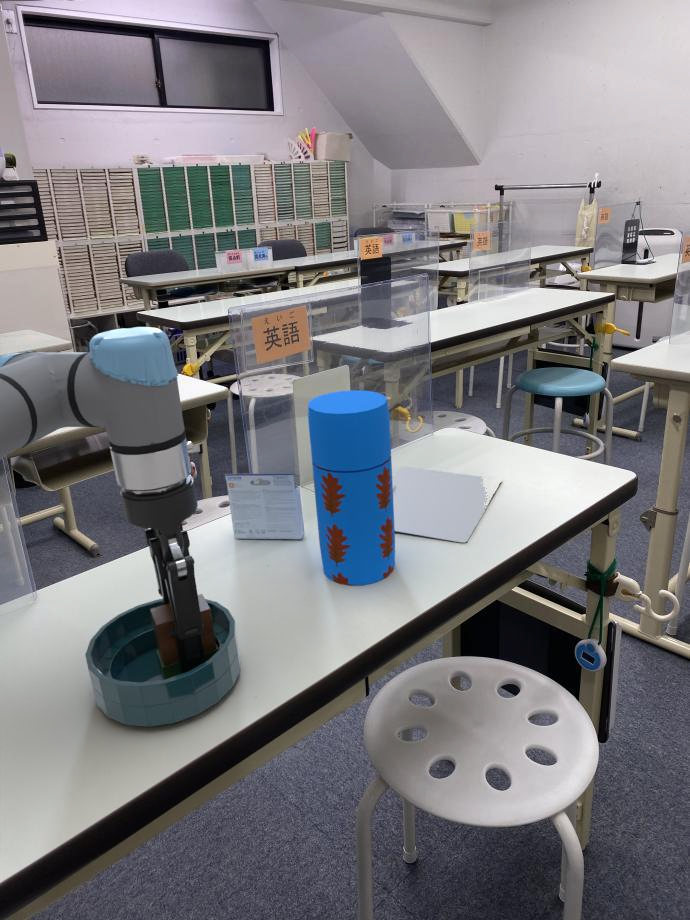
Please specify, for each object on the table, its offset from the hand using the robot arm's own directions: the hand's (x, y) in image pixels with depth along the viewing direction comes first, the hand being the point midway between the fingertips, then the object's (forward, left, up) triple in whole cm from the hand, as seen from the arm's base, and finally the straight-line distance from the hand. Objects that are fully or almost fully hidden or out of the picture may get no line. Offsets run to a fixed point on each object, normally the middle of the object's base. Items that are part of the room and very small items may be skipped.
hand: (190, 665), depth 79 cm
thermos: (-11, +28, -1) cm, 30 cm away
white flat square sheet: (-25, +47, -1) cm, 53 cm away
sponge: (0, 0, 0) cm, 0 cm away
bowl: (0, -2, -1) cm, 3 cm away
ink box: (-27, +20, -1) cm, 33 cm away
